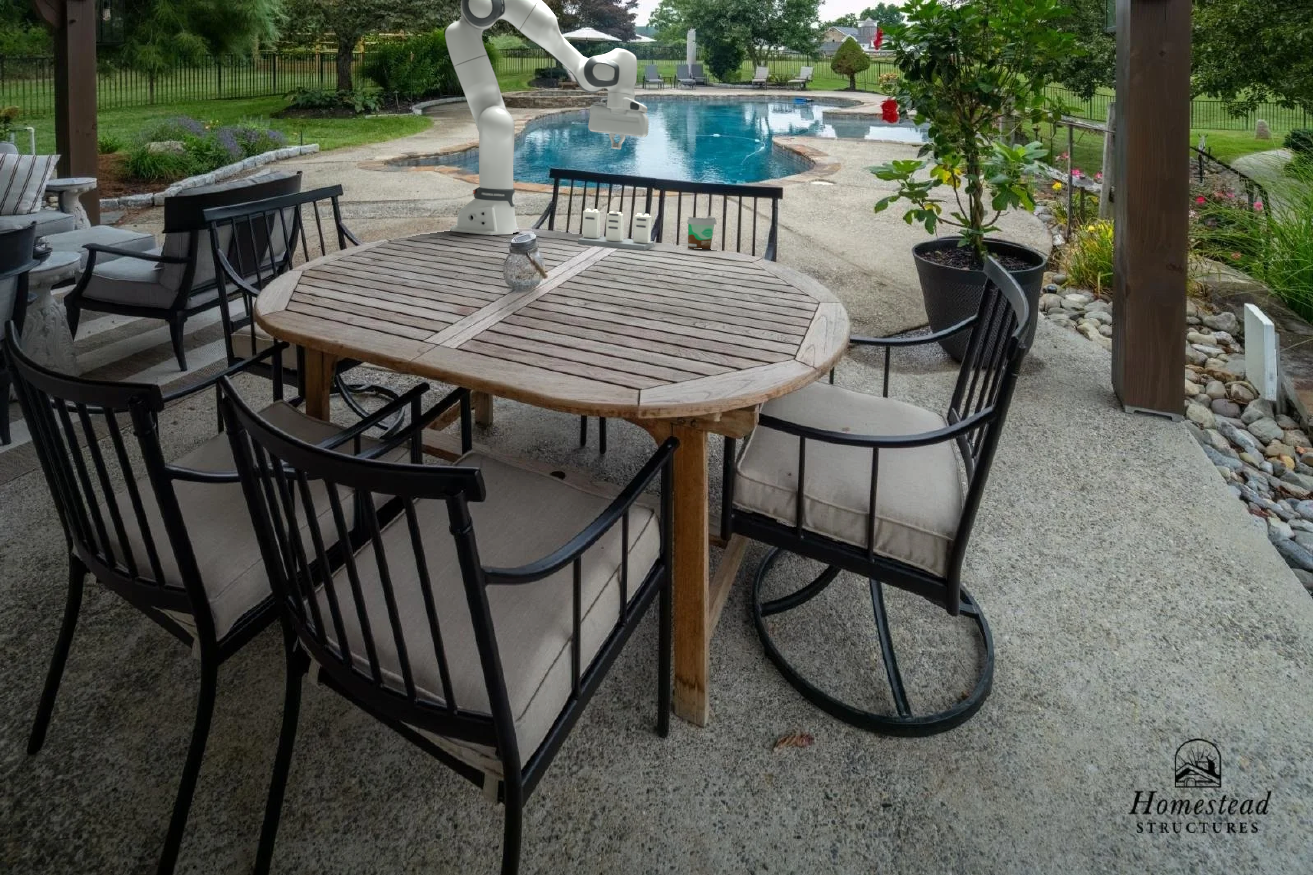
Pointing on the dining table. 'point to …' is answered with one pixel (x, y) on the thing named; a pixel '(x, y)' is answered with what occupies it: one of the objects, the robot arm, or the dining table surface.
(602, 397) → the dining table surface
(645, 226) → the tile two
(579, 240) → the tile board
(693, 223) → the food container
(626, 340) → the dining table surface
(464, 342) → the dining table surface
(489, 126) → the robot arm
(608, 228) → the tile three
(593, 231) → the tile one
